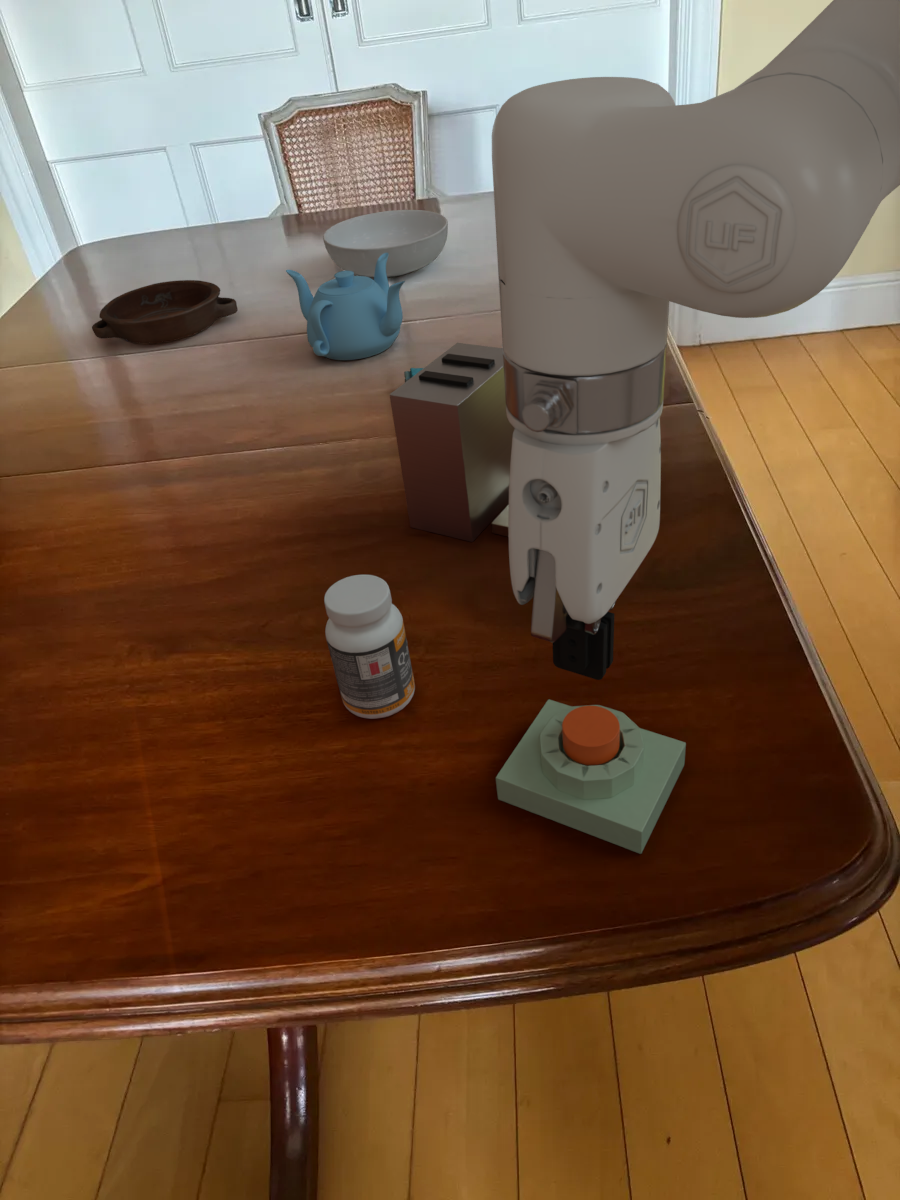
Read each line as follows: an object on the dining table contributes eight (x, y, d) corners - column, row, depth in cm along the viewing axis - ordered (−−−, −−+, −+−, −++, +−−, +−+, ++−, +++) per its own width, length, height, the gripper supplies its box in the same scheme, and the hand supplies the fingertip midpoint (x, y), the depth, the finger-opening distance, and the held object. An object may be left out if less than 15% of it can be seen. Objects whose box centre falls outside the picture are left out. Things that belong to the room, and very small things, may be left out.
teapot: (308, 375, 120) (292, 299, 113) (299, 336, 131) (284, 265, 125) (415, 355, 121) (405, 279, 115) (397, 318, 133) (387, 247, 127)
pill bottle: (426, 706, 67) (408, 602, 61) (354, 732, 66) (328, 628, 60) (401, 661, 72) (383, 560, 66) (333, 685, 70) (307, 584, 64)
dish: (99, 325, 145) (88, 295, 142) (235, 299, 148) (227, 268, 145) (95, 364, 131) (83, 331, 128) (244, 334, 135) (236, 301, 132)
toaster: (529, 480, 92) (521, 346, 83) (472, 542, 84) (457, 400, 75) (470, 469, 95) (456, 338, 86) (410, 527, 87) (388, 390, 78)
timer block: (684, 765, 60) (687, 723, 58) (641, 854, 55) (642, 812, 53) (549, 720, 65) (547, 680, 62) (497, 799, 60) (493, 758, 57)
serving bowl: (313, 292, 147) (304, 249, 142) (352, 252, 162) (345, 212, 158) (435, 289, 142) (430, 244, 137) (463, 247, 157) (459, 206, 153)
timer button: (627, 734, 58) (628, 715, 57) (606, 772, 56) (606, 753, 55) (576, 717, 60) (576, 699, 59) (553, 754, 57) (552, 735, 56)
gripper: (594, 469, 36) (591, 773, 47) (710, 331, 46) (685, 610, 57) (435, 437, 39) (467, 728, 51) (575, 315, 49) (576, 581, 60)
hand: (582, 665), depth 54 cm, fingers closed
